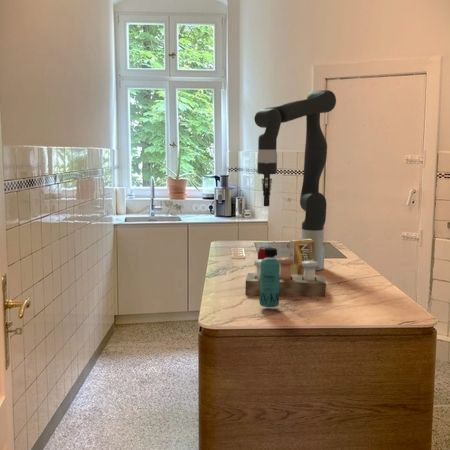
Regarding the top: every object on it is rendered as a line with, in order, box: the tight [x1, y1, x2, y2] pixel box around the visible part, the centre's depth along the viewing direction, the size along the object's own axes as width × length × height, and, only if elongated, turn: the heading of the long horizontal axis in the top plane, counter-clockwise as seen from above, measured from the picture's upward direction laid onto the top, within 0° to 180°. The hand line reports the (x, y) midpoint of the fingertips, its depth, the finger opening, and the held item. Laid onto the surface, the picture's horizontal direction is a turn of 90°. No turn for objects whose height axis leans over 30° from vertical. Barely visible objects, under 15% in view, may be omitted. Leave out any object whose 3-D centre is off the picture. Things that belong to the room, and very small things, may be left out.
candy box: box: [289, 238, 314, 275], centre depth 214 cm, size 9×4×15 cm, turn 110°
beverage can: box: [257, 246, 276, 260], centre depth 215 cm, size 7×7×12 cm
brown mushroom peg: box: [277, 256, 294, 280], centre depth 193 cm, size 6×6×10 cm
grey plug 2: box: [302, 261, 318, 281], centre depth 192 cm, size 6×6×10 cm
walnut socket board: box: [244, 272, 327, 298], centre depth 193 cm, size 28×12×5 cm, turn 84°
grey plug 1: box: [253, 259, 263, 279], centre depth 194 cm, size 6×6×10 cm
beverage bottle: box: [258, 247, 280, 308], centre depth 171 cm, size 6×7×20 cm
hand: (266, 206), depth 209 cm, fingers closed
